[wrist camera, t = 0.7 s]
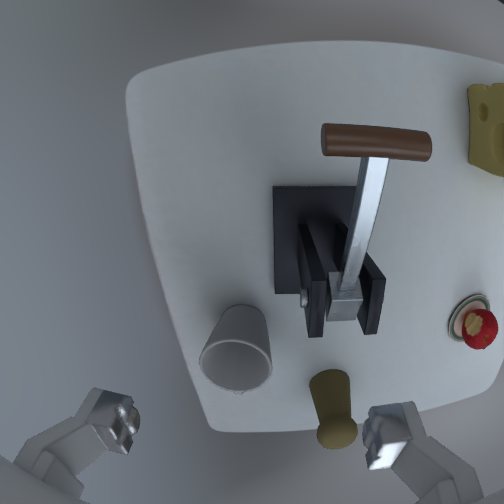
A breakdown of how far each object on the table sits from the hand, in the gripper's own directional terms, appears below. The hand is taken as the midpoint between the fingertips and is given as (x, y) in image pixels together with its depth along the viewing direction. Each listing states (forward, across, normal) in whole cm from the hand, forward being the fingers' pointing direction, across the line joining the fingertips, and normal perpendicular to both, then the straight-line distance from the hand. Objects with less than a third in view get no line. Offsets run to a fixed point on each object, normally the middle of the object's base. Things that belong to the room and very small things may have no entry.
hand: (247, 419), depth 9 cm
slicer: (+25, -5, +3) cm, 26 cm away
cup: (+25, +4, +15) cm, 30 cm away
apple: (+25, -30, +15) cm, 42 cm away
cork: (+25, -9, +25) cm, 36 cm away
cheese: (+26, -29, -11) cm, 41 cm away
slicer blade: (+11, -5, -3) cm, 13 cm away
